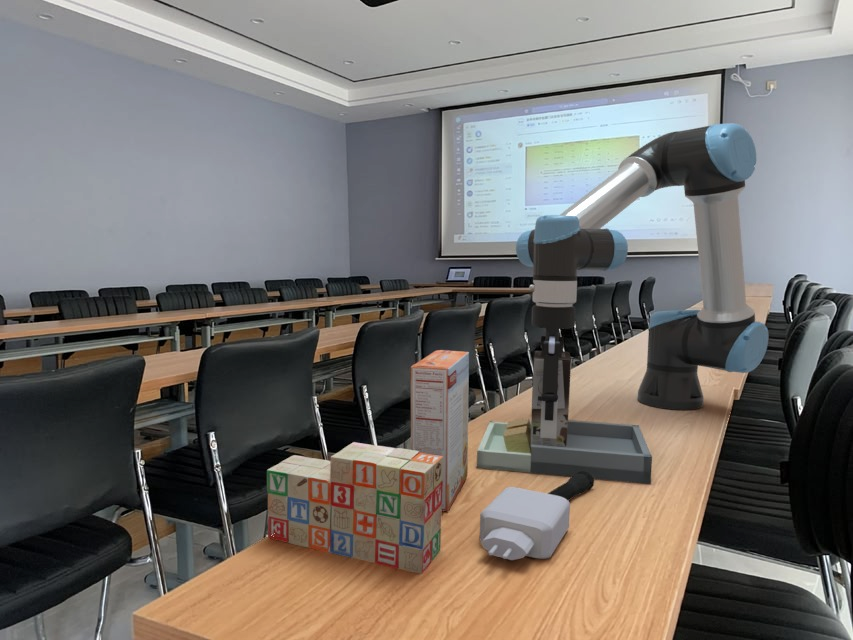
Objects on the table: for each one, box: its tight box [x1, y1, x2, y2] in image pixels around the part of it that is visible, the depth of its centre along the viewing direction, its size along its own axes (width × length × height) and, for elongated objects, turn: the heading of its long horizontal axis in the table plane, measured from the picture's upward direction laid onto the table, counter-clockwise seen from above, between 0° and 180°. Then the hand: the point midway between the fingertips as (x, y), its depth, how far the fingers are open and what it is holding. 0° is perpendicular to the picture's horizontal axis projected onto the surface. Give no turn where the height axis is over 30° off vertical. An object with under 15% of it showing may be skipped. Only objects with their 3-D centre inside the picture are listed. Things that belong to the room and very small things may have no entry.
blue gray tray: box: [529, 419, 653, 485], centre depth 108 cm, size 19×18×4 cm
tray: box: [476, 421, 531, 474], centre depth 111 cm, size 9×18×3 cm, turn 167°
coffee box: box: [530, 350, 572, 448], centre depth 109 cm, size 9×6×16 cm
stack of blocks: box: [266, 441, 443, 575], centre depth 76 cm, size 21×6×12 cm, turn 69°
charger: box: [479, 486, 571, 561], centre depth 76 cm, size 5×9×15 cm
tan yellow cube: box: [503, 426, 531, 453], centre depth 108 cm, size 4×4×4 cm
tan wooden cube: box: [506, 417, 531, 440], centre depth 114 cm, size 4×4×4 cm
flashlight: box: [546, 470, 595, 501], centre depth 90 cm, size 3×16×3 cm, turn 140°
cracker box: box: [410, 349, 470, 512], centre depth 92 cm, size 14×6×21 cm, turn 164°
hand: (548, 429), depth 110 cm, fingers closed on coffee box, 9 cm apart
